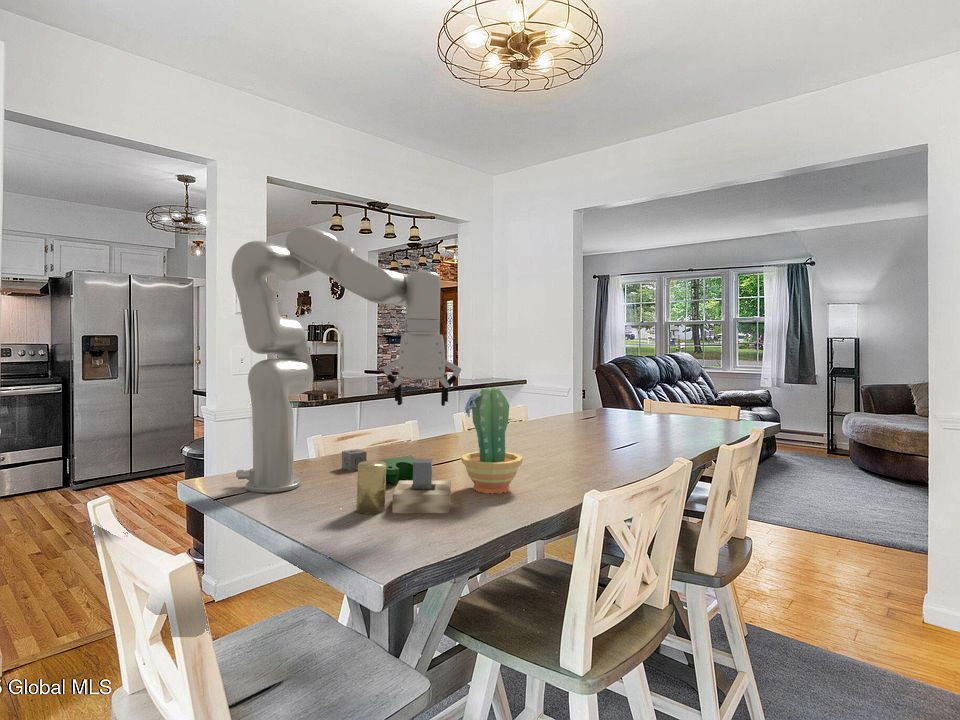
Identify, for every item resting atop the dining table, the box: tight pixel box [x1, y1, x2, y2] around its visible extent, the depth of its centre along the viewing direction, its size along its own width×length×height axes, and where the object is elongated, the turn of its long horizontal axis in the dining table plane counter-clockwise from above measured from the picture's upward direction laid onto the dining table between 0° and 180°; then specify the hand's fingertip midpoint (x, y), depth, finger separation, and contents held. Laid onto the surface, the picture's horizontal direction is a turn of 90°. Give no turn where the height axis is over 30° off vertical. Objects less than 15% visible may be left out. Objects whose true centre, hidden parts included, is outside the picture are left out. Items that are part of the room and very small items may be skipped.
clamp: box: [377, 454, 417, 486], centre depth 149 cm, size 12×6×9 cm, turn 126°
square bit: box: [413, 458, 433, 490], centre depth 128 cm, size 4×4×10 cm
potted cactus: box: [460, 387, 524, 495], centre depth 142 cm, size 15×15×25 cm
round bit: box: [355, 460, 387, 515], centre depth 124 cm, size 6×6×10 cm
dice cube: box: [341, 448, 368, 472], centre depth 163 cm, size 5×5×5 cm
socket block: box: [392, 479, 452, 514], centre depth 128 cm, size 12×12×4 cm
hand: (421, 404), depth 128 cm, fingers open, 9 cm apart
